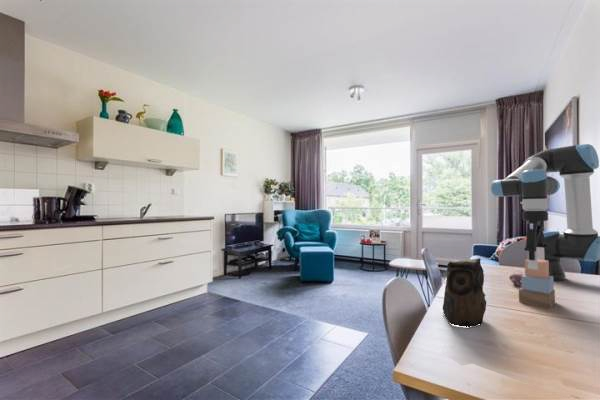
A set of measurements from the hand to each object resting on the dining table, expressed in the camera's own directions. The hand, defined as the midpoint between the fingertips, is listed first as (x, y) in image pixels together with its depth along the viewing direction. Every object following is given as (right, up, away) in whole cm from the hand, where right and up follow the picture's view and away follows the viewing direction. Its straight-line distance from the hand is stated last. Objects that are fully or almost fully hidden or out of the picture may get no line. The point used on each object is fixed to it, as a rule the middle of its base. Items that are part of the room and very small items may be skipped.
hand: (536, 266), depth 108 cm
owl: (-38, -14, -16) cm, 43 cm away
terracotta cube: (0, -4, 0) cm, 4 cm away
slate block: (0, -9, 0) cm, 9 cm away
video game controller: (+11, -14, +21) cm, 28 cm away
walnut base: (0, -14, 0) cm, 14 cm away
